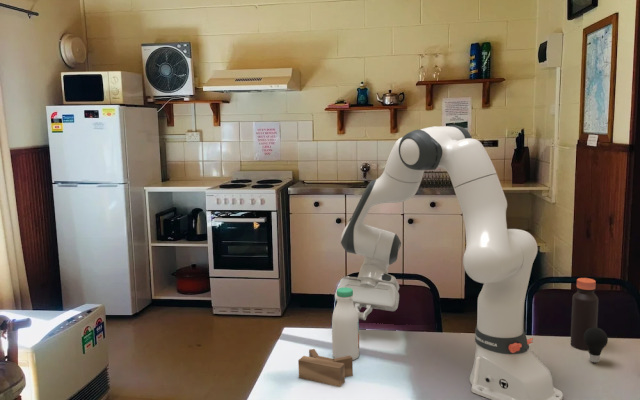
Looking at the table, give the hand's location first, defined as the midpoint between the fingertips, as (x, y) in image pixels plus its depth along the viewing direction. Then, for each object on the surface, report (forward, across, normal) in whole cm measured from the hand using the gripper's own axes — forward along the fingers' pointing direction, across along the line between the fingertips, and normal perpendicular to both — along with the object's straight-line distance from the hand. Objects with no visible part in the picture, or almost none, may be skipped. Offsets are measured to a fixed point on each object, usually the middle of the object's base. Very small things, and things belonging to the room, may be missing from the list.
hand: (360, 318), depth 166 cm
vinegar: (-11, +61, +21) cm, 66 cm away
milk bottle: (+13, 0, -3) cm, 14 cm away
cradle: (+22, 0, -12) cm, 26 cm away
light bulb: (-3, +64, +14) cm, 66 cm away
